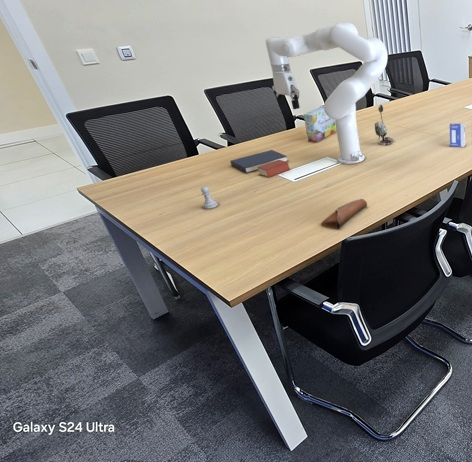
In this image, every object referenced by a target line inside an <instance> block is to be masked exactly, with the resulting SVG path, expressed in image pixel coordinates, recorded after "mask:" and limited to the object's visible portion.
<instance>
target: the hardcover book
mask: <svg viewBox="0 0 472 462" xmlns="http://www.w3.org/2000/svg"><path fill="white" fill-rule="evenodd" d="M287 157H288V156H287V155H286V154H283V153H280V152H278V151H275V150H273V149H270V150H266V151H261V152H258V153H255V154H251V155H247V156H243V157H239V158H236V159H235V158H234V159H232V160H230V164H231V167H233V168H235V169H237V170H239V171H240V172H242V173H245V174H249V173H253V172H256V171H259V170H258V168H257V167H259V166H262V165H265V164H268V163H271V162H273V161H276V160H282V161H285V162H289V160H288V158H287Z"/></svg>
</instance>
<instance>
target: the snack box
mask: <svg viewBox="0 0 472 462" xmlns="http://www.w3.org/2000/svg"><path fill="white" fill-rule="evenodd" d="M303 120H304V126H305V131H306V137H307V141H308V142H309V143H318V142H320V141H322V140H323V139H325V138H327V137H329V136H331V135H333V134H334V133H337V131H336V125H335V119H332V118H330V117H328V116H327V115H326V113H325V110H324V105H322V106H320V107H317V108H315V109H313V110H311V111H308V112H305V113H303Z"/></svg>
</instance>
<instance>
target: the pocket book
mask: <svg viewBox="0 0 472 462" xmlns="http://www.w3.org/2000/svg"><path fill="white" fill-rule="evenodd" d="M257 168H258V170H257V171H258V174H259V175H260V176H262V177H266V178H271V177H273V176H276V175H279V174H281V173H284V172H288V171H290V166H289V161H287V162H285V161H282V160H276V161H273V162H271V163H268V164H265V165H262V166H259V167H257Z"/></svg>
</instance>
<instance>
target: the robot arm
mask: <svg viewBox="0 0 472 462" xmlns="http://www.w3.org/2000/svg"><path fill="white" fill-rule="evenodd" d="M265 46H266V51H267V54H268V59H269V63H270V68H271V72H272V81H273V85H272V86H271V88H272V91H273V93H274V94H275V97H276V98H277V103H278V106H279V107H284V106H286V100H285V99H286V98H285V96H287V97H290V99H291V100H290V101H291V105H292V109H293V110H297V109H300V108H301V107H300V102H299V100H300V90H299V89H298V86H297V83H296V79H295V77H294V74H293V72H292V70H291V65H290V61H289V58H296V57H300V56H302V55H306V54H311V53H315V52H319V51H330V50H334V49H336V48H340V50H343V51H344V52H346V53H347V54H349V55H351V56H352V57H354V58H356V59H358V60H360V61H362V62H363V63H362V64H361V65H360V66H359V67H358V69H357V70H356V71H355V73H354V74H352V76H350V77H348V78H346V79H344V80H343V81H340V83H339V84H338V85H337V87H336V88H334V90H333V91H332V92H331V93H330V95H329V96H328V97H327V99H326V100H325V102H324V104H323V106H324V110H325V113H326V115H327V116H328V117H330V118H332V119H334V120H335V127H336V137H337V143H338V149H339V153H340V154H339V156H338V157H337V161H338V162H339V163H340V164H345V165H346V164H347V165H352V164H357V163H361V162H363V161H364V160H365V159H366V157H365V155H364V154H363V153H362V151H361V145H360V138H359V132H358V131H359V130H358V124H357V105H356V103H357V102H358V101H359V100H361V99H362V98H363V97H365V96H366V94H367V93H368V91H370V89H371V88H372V87H373V86H374V85H375V83H376V82H377V80H378V79H379V78H380V77H381V76H382V74H383V73H384V71H385V69H386V67H387V64H388V58H389V57H388V56H389V55H388V50H387V47H386V45H385V44H384V42H383V41H382V40H381V39H380V38H378V37H368V38H363V37H362V36H360V35H359V32H358V28H357V27H356V26H355V25H354V24H353V23H351V22H348V21H345V22H337V23H335V24H333V25H329V26H325V27H321V28H317V29H315V31H312V32H309V33H305V34H301V35H297V36H291V37H286V38H282V37H280V36H279V37H278V36H277V37H275V36H273V37H272V36H271V37H267V38H266V39H265Z"/></svg>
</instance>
